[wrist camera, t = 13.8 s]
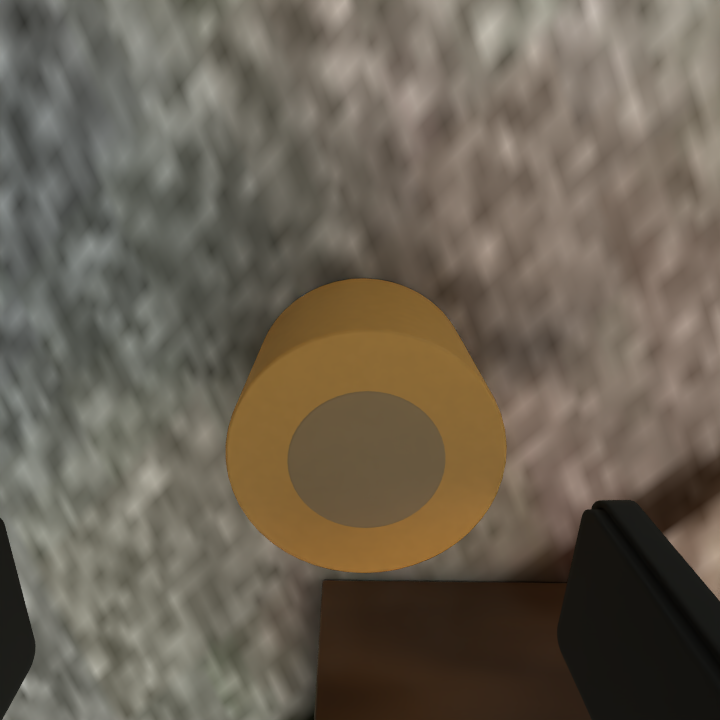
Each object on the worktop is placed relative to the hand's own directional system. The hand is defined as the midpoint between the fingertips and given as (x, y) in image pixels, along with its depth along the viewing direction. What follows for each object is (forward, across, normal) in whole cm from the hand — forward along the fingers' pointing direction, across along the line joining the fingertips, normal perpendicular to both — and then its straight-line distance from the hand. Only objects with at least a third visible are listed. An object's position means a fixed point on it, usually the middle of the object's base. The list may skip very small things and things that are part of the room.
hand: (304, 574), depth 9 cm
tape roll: (+9, -2, 0) cm, 9 cm away
